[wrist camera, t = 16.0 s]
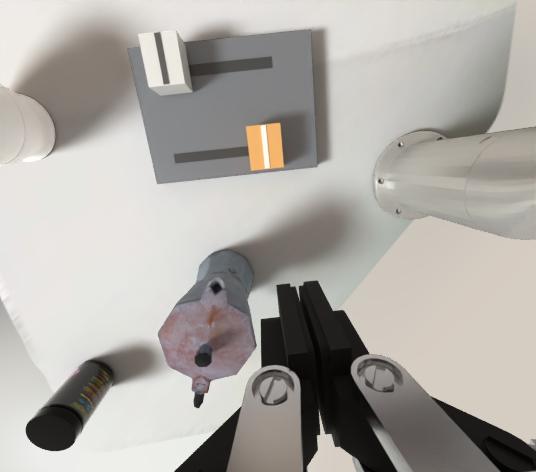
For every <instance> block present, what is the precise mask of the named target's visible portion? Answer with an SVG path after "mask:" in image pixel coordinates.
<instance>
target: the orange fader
mask: <svg viewBox="0 0 536 472" xmlns="http://www.w3.org/2000/svg"><path fill="white" fill-rule="evenodd" d="M246 132H247V141H248V149H249V158H250V166H251V171H254V170H263V169H273V168H282V167H284V162H283V150H282V138H281V126H280V123H273V124H264V125H254V126H246Z"/></svg>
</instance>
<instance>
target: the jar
mask: <svg viewBox="0 0 536 472" xmlns="http://www.w3.org/2000/svg"><path fill="white" fill-rule="evenodd" d="M54 143H55V128H54V125H53V122H52V119H51V117H50V116H49V114H48V113H47V111H46V110H45V109H44V108H43V107H42V106H41V105H40V104H39V103H38V102H37V101H35V100H34V99H32V98H30V97H28V96H25V95H22V94H16V93H14V92H13V91H11V90H10V89H8V88H6V87H5V86H3V85H1V84H0V166H3V165H9V164H13V163H17V162H20V161H27V162H32V161H38V160H40V159H42V158H44V157H46V156H47V155H48V154H49V153H50V151H51V150H52V148H53V146H54Z"/></svg>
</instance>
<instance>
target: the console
mask: <svg viewBox="0 0 536 472" xmlns="http://www.w3.org/2000/svg"><path fill="white" fill-rule="evenodd" d="M184 44H185V47H186V53H187V59H188V65H189V72H190V78H191V84H192V90H193V92H191V93H181V94H172V95H162V96H160V95H159V94H158V93H156V92H155V91H153V90H152V89H151V88H149V86H148V81H147V76H146V72H145V67H144V62H143V57H142V52H141V47H135V48H128V53H129V57H130V62H131V67H132V71H133V76H134V80H135V85H136V90H137V94H138V99H139V103H140V108H141V112H142V117H143V122H144V126H145V131H146V135H147V140H148V144H149V149H150V154H151V158H152V163H153V167H154V172H155V176H156V181H157V184H163V183H173V182H182V181H191V180H201V179H210V178H219V177H229V176H238V175H247V174H257V173H266V172H275V171H285V170H294V169H303V168H313V167H317V151H316V130H315V109H314V88H313V67H312V47H311V29H309V30H299V31H290V32H280V33H270V34H261V35H251V36H241V37H232V38H222V39H212V40H203V41H193V42H184ZM273 123H280V126H281V138H282V150H283V162H284V167H282V168H273V169H263V170H254V171H251V166H250V158H249V149H248V141H247V132H246V126H254V125H264V124H273Z"/></svg>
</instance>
